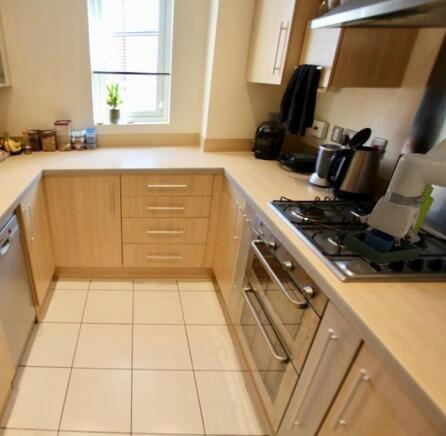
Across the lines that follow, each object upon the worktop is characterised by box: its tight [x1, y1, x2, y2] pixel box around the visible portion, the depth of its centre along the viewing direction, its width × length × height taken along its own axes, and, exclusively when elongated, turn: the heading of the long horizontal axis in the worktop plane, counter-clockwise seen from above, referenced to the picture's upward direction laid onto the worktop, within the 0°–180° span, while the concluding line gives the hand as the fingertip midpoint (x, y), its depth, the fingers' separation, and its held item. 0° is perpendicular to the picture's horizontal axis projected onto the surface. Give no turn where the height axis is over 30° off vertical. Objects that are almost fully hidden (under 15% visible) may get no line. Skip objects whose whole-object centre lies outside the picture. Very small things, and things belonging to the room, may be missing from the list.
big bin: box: [342, 230, 423, 264], centre depth 99 cm, size 14×12×4 cm
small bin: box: [363, 229, 395, 254], centre depth 98 cm, size 7×7×6 cm
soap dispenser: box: [414, 184, 435, 234], centre depth 107 cm, size 6×7×20 cm
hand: (378, 248), depth 99 cm, fingers closed on small bin, 6 cm apart
